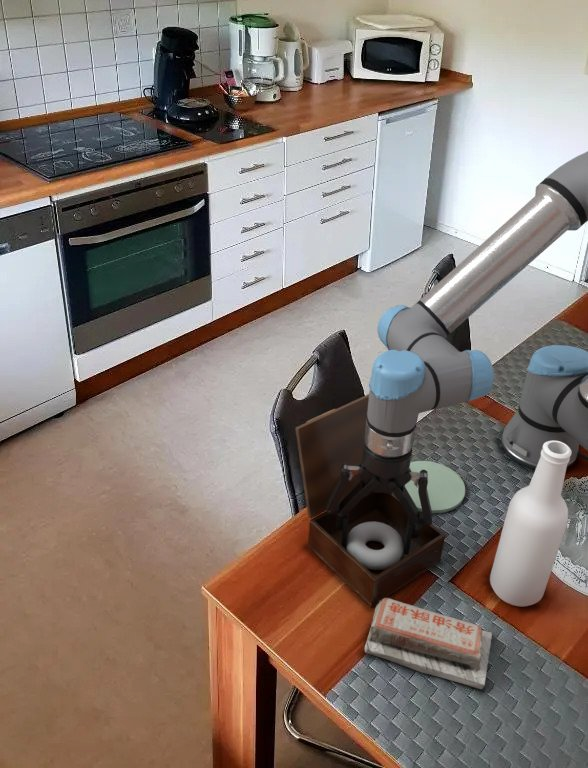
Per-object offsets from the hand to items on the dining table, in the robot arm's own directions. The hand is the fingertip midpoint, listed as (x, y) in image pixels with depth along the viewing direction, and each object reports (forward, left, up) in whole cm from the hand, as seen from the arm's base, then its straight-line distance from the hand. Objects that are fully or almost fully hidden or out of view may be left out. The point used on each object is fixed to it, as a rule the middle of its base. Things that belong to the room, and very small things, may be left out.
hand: (374, 545), depth 126 cm
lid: (+9, -4, +13) cm, 16 cm away
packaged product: (-15, +13, -3) cm, 20 cm away
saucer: (-3, -21, -2) cm, 21 cm away
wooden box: (0, 0, -2) cm, 2 cm away
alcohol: (-24, -5, -3) cm, 24 cm away
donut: (0, 0, -2) cm, 2 cm away
